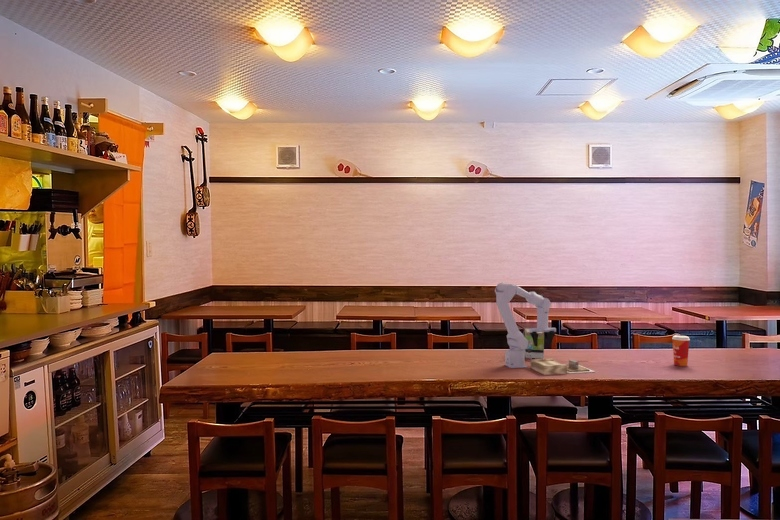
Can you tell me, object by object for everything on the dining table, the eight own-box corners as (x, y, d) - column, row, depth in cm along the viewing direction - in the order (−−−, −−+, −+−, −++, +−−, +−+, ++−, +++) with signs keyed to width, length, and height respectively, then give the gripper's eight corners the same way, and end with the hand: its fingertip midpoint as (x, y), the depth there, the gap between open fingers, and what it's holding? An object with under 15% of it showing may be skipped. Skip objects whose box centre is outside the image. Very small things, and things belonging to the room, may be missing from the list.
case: (544, 374, 241) (544, 365, 241) (530, 368, 255) (530, 359, 255) (567, 373, 243) (567, 364, 243) (552, 367, 257) (552, 358, 257)
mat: (568, 373, 243) (568, 372, 243) (554, 367, 257) (554, 366, 257) (595, 372, 246) (595, 371, 246) (579, 365, 259) (579, 365, 259)
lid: (569, 372, 245) (569, 363, 245) (558, 366, 256) (558, 358, 256) (589, 371, 247) (589, 362, 246) (577, 365, 258) (577, 358, 257)
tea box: (544, 359, 276) (544, 332, 275) (525, 358, 278) (525, 332, 277) (541, 353, 290) (541, 328, 290) (523, 353, 292) (523, 327, 292)
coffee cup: (670, 362, 266) (670, 334, 266) (687, 363, 264) (688, 335, 263) (673, 366, 259) (673, 337, 258) (691, 367, 256) (691, 338, 256)
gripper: (533, 321, 260) (533, 347, 260) (559, 320, 262) (558, 346, 263) (527, 319, 267) (527, 345, 267) (552, 319, 269) (552, 344, 270)
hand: (542, 345), depth 265 cm, fingers open, 7 cm apart
